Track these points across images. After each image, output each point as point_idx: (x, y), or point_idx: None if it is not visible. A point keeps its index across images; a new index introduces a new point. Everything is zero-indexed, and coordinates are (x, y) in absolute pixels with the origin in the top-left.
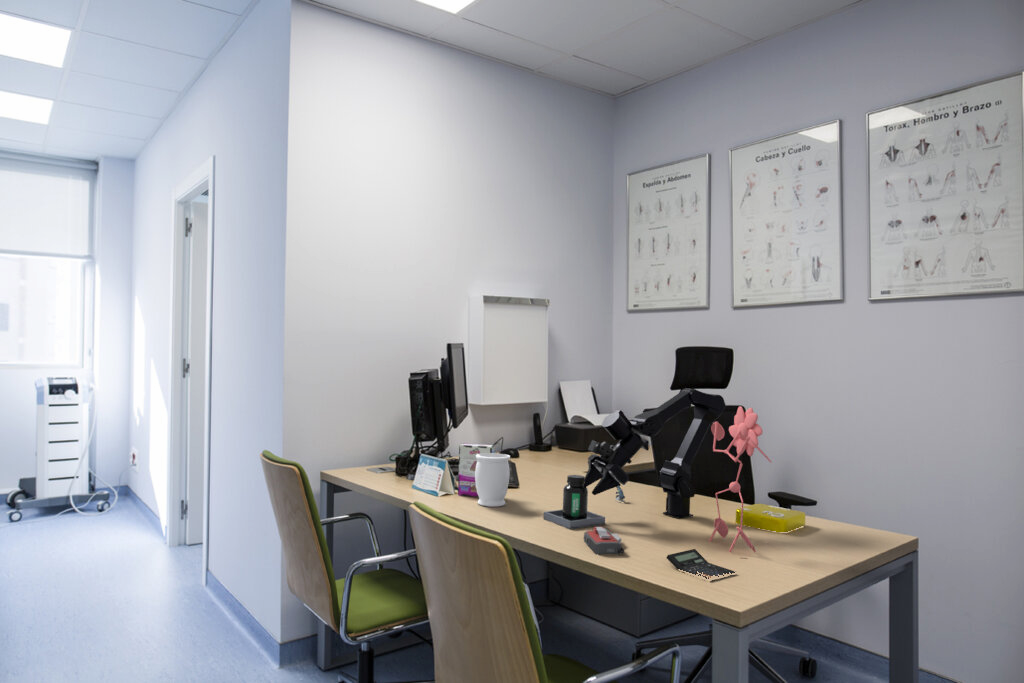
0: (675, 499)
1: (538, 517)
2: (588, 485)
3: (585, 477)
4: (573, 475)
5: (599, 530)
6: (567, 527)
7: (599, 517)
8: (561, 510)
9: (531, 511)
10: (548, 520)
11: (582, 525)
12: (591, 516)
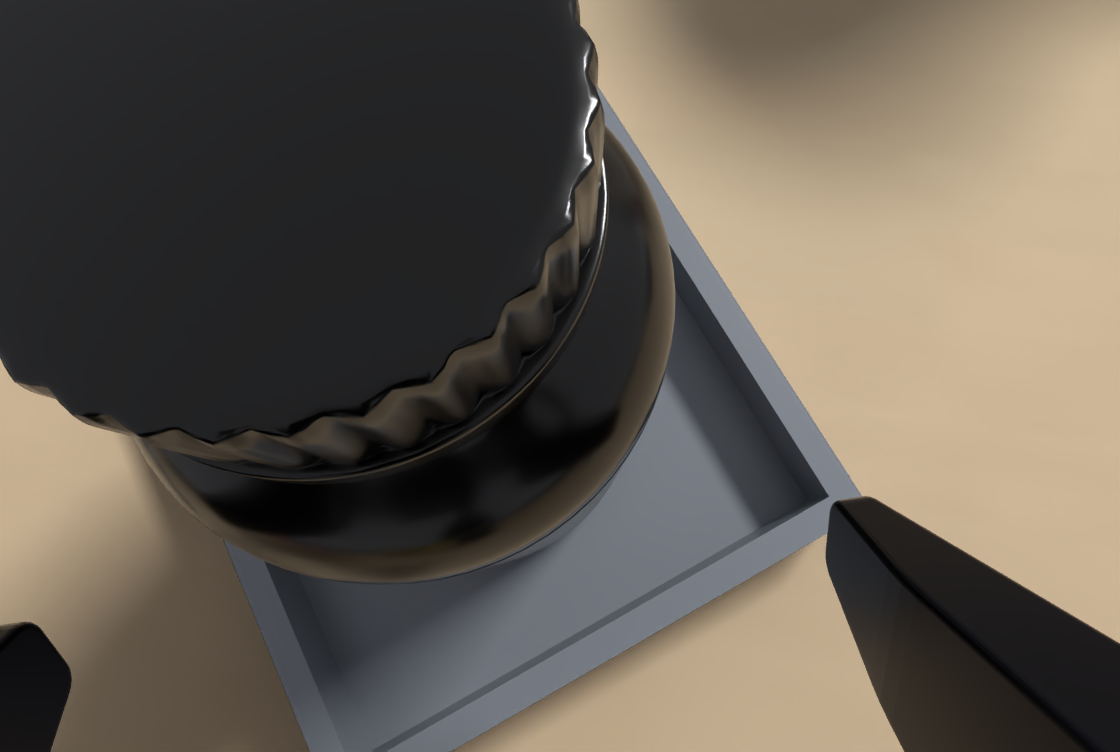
0: None
1: (647, 78)
2: (893, 724)
3: (1076, 672)
4: (428, 31)
5: None
6: None
7: (308, 718)
8: (687, 273)
9: (897, 35)
10: None
11: None
12: (559, 647)
